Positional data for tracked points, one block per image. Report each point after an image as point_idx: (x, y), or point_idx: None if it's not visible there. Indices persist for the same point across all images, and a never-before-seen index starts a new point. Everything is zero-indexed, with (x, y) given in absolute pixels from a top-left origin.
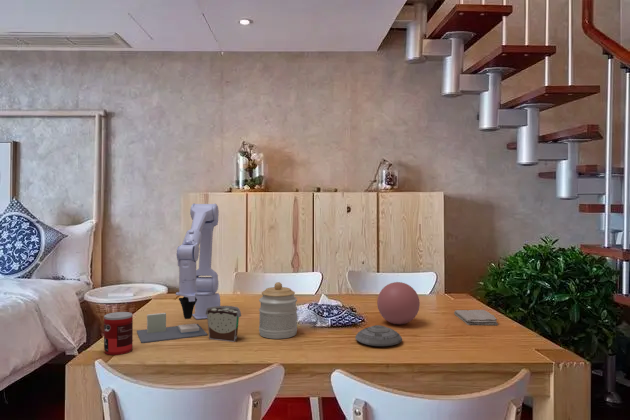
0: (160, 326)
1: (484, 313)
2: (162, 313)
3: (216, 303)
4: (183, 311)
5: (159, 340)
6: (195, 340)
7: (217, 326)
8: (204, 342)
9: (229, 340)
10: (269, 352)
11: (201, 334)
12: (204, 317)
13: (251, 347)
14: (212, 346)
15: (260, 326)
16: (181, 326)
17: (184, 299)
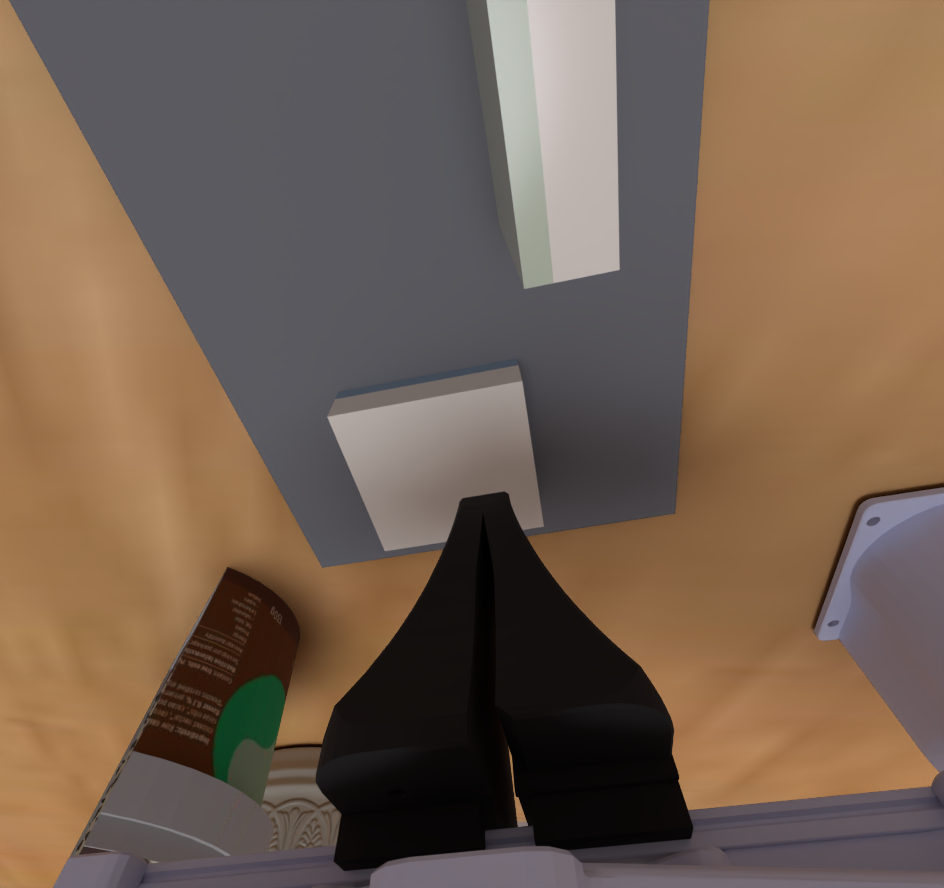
0: (492, 151)
1: None
2: (574, 210)
3: (923, 723)
4: (469, 556)
5: (102, 158)
6: (181, 491)
7: (160, 696)
8: (132, 541)
9: (179, 654)
10: (9, 750)
11: (317, 534)
12: (850, 557)
13: (74, 712)
14: (42, 579)
15: (272, 804)
16: (459, 415)
17: (363, 797)
